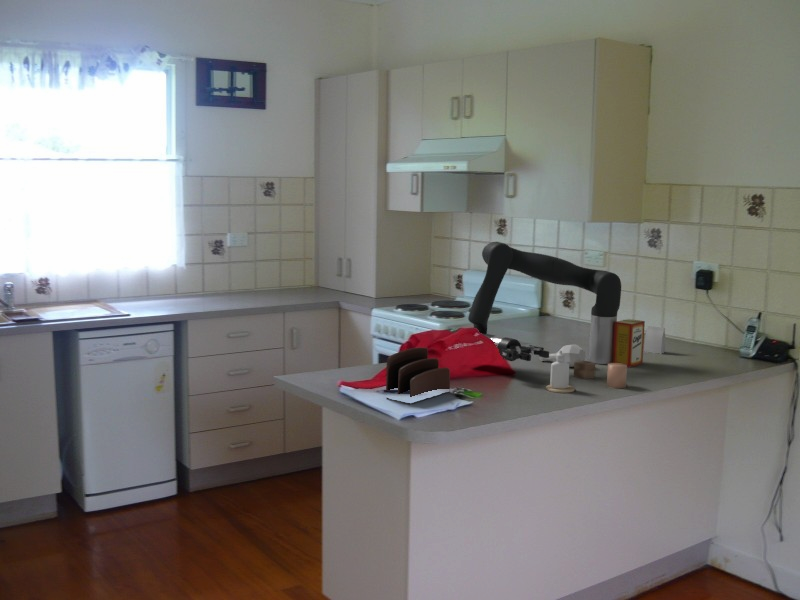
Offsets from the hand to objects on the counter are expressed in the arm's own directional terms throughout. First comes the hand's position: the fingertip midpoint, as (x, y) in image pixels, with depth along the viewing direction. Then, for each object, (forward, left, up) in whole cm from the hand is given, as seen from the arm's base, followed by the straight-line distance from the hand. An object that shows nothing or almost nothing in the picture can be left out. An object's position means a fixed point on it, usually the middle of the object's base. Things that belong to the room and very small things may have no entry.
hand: (539, 356), depth 284 cm
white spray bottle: (-23, +23, -9) cm, 34 cm away
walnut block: (-3, +20, -9) cm, 22 cm away
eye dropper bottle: (+9, +2, -9) cm, 13 cm away
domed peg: (+11, +22, -9) cm, 27 cm away
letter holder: (+1, -43, -9) cm, 44 cm away
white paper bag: (-29, +70, -9) cm, 76 cm away
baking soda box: (-15, +47, -9) cm, 50 cm away
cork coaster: (+9, +2, -9) cm, 13 cm away
